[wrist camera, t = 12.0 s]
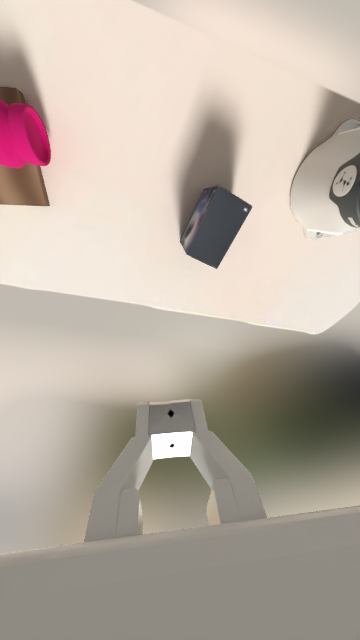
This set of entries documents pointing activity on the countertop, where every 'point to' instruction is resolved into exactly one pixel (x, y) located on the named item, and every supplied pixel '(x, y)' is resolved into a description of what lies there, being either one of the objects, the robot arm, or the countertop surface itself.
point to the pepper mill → (22, 136)
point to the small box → (214, 225)
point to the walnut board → (21, 171)
